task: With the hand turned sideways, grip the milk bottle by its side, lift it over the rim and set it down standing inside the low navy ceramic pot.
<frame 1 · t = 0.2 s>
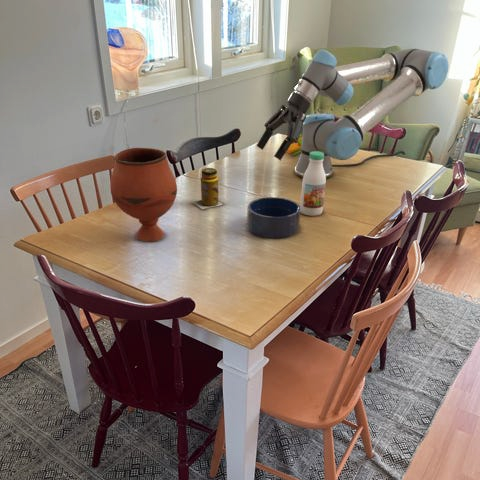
hand: (268, 153, 168), 15 cm above the table, tool tilted 35°, fingers open, 13 cm apart
pot: (273, 227, 154), on the table
corn: (294, 153, 220), on the table
goblet: (149, 236, 148), on the table
condiment: (207, 204, 170), on the table
milk bottle: (311, 212, 164), on the table
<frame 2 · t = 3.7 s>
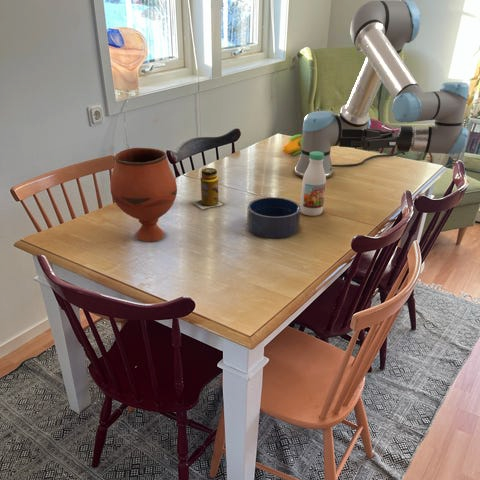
hand: (340, 137, 150), 25 cm above the table, tool horizontal, fingers open, 13 cm apart
nothing on the table moved.
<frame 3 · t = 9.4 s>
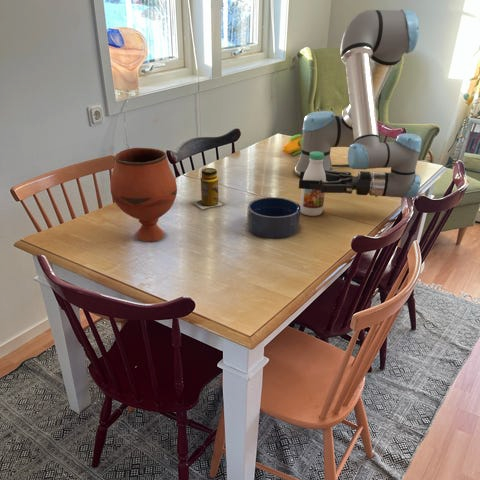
hand: (299, 179, 159), 11 cm above the table, tool horizontal, fingers closed on milk bottle, 8 cm apart
milk bottle: (311, 212, 164), on the table, touching gripper
everything else where it was.
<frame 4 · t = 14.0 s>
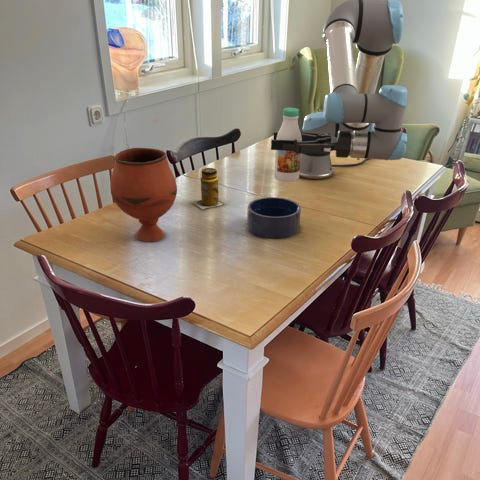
hand: (272, 140, 142), 26 cm above the table, tool horizontal, fingers closed on milk bottle, 8 cm apart
milk bottle: (286, 178, 148), point 15 cm above the table, touching gripper
everything else where it was.
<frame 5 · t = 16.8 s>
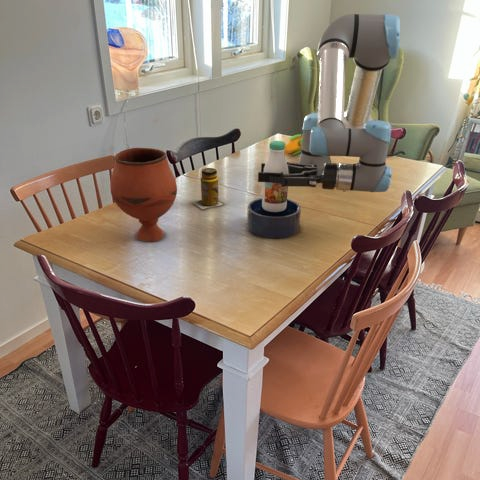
hand: (259, 172, 144), 18 cm above the table, tool horizontal, fingers closed on milk bottle, 8 cm apart
milk bottle: (274, 208, 150), point 6 cm above the table, touching gripper
everything else where it was.
when the fingers open (12 cm above the table, at t = 18.9 s): milk bottle stays where it is, resting on pot.
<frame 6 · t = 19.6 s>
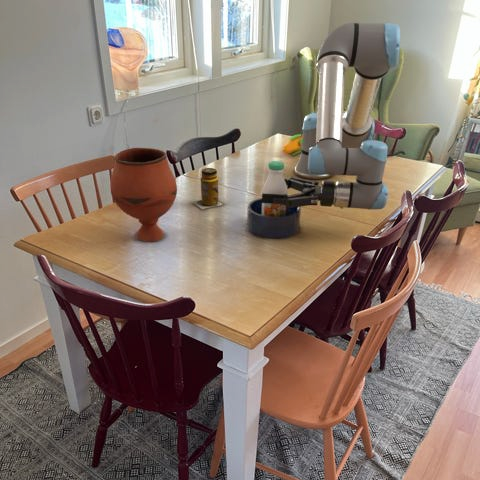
hand: (264, 189, 147), 12 cm above the table, tool horizontal, fingers open, 13 cm apart
milk bottle: (273, 225, 153), point 1 cm above the table, touching pot
everything else where it was.
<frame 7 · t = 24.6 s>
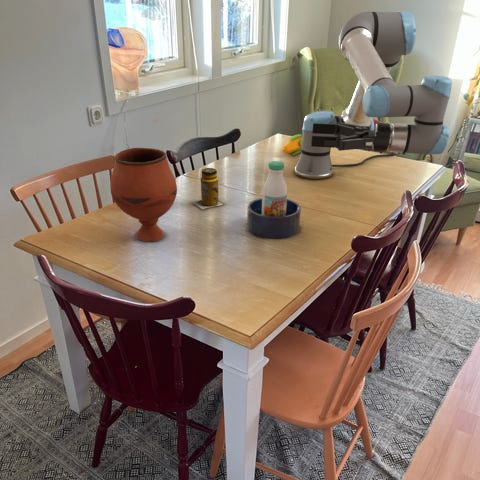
hand: (312, 134, 136), 29 cm above the table, tool horizontal, fingers open, 13 cm apart
nothing on the table moved.
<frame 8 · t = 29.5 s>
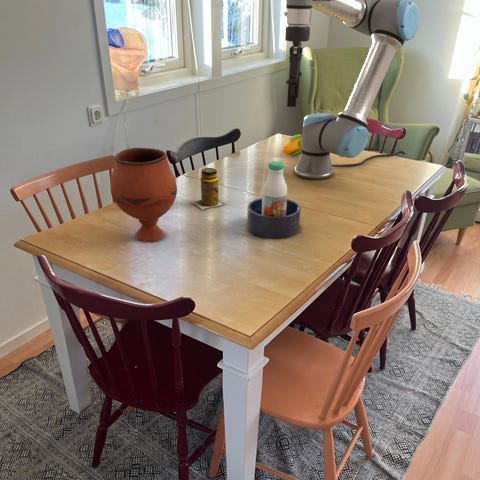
hand: (292, 102, 155), 33 cm above the table, tool pointing down, fingers open, 13 cm apart
nothing on the table moved.
at the end: milk bottle inside the target area in the pot (0.0 cm from its centre), point 0.6 cm above the pot's base; milk bottle tilted 0°; the gripper is holding nothing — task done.
